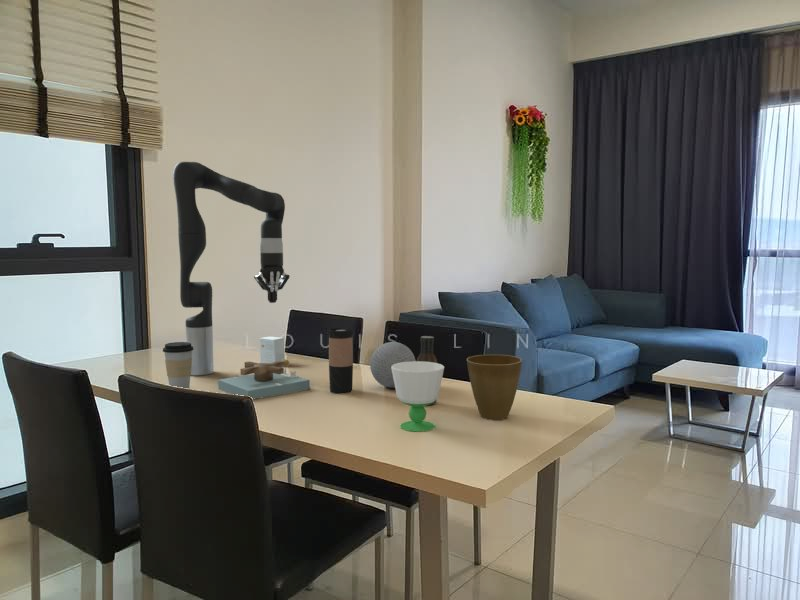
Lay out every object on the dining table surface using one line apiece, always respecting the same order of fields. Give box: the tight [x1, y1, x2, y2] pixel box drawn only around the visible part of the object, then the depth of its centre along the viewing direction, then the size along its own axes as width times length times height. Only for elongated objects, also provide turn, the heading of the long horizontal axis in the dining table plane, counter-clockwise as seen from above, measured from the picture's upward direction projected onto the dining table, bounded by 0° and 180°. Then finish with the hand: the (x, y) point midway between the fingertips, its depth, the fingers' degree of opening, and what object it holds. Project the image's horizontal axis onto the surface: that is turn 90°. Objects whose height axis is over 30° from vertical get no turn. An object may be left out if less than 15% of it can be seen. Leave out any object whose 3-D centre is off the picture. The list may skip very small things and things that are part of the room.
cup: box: [391, 360, 445, 433], centre depth 159 cm, size 14×14×16 cm
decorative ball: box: [369, 341, 416, 389], centre depth 203 cm, size 15×15×15 cm
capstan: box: [239, 358, 290, 381], centre depth 201 cm, size 19×17×5 cm
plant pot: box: [466, 354, 523, 421], centre depth 169 cm, size 15×15×16 cm
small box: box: [259, 336, 286, 363], centre depth 241 cm, size 8×6×10 cm
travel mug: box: [328, 327, 354, 395], centre depth 197 cm, size 8×8×20 cm
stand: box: [217, 367, 311, 400], centre depth 200 cm, size 21×22×5 cm
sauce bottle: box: [416, 335, 439, 406], centre depth 182 cm, size 6×6×20 cm
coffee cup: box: [162, 341, 194, 389], centre depth 199 cm, size 9×9×15 cm
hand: (272, 302), depth 211 cm, fingers closed
